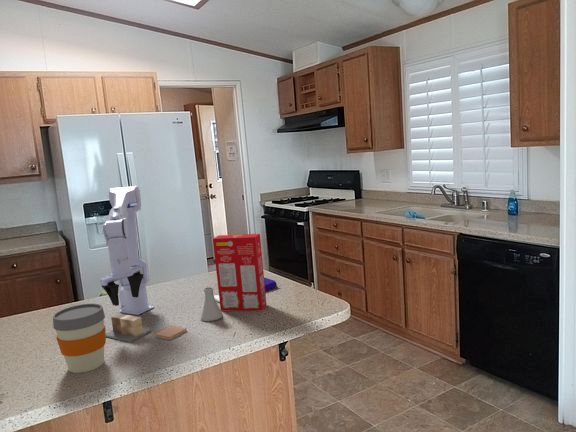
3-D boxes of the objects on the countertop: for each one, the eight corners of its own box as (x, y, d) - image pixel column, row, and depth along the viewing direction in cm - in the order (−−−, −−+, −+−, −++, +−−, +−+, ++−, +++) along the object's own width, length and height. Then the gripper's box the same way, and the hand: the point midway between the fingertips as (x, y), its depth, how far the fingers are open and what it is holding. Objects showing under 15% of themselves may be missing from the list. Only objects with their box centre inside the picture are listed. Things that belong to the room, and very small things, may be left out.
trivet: (103, 336, 144) (103, 334, 144) (124, 326, 151) (124, 325, 151) (130, 342, 138) (130, 340, 138) (151, 331, 145) (150, 330, 145)
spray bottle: (263, 276, 187) (208, 292, 172) (279, 281, 178) (222, 299, 164) (263, 283, 187) (209, 300, 173) (279, 288, 179) (223, 307, 164)
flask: (218, 322, 148) (215, 291, 147) (197, 322, 150) (193, 292, 148) (225, 313, 155) (222, 284, 154) (205, 313, 157) (202, 285, 155)
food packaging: (266, 304, 160) (259, 233, 157) (262, 310, 155) (255, 237, 152) (225, 305, 164) (218, 235, 160) (220, 310, 159) (212, 238, 155)
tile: (155, 334, 140) (169, 337, 137) (172, 325, 146) (186, 328, 143) (155, 338, 140) (170, 341, 137) (172, 330, 146) (186, 332, 143)
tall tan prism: (113, 332, 145) (111, 316, 145) (121, 328, 148) (118, 313, 147) (135, 336, 140) (133, 320, 140) (143, 332, 143) (141, 317, 142)
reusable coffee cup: (116, 364, 124) (109, 310, 121) (65, 381, 117) (56, 324, 114) (104, 350, 134) (97, 300, 132) (56, 364, 127) (48, 312, 125)
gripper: (108, 265, 135) (115, 310, 137) (147, 253, 148) (152, 294, 150) (93, 264, 139) (99, 307, 141) (131, 252, 151) (137, 292, 153)
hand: (125, 301), depth 146 cm, fingers open, 7 cm apart
